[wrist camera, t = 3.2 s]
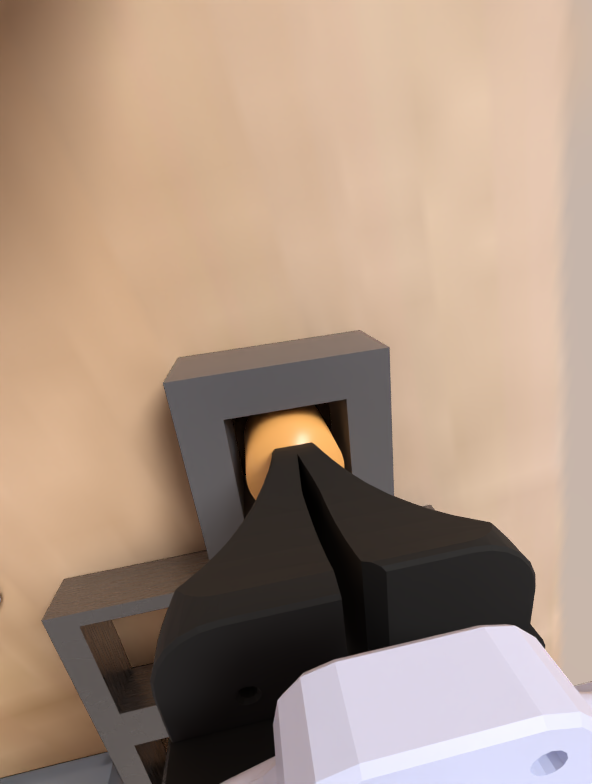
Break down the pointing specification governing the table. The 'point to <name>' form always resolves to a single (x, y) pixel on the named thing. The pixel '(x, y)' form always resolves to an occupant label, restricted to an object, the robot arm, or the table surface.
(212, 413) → the button housing
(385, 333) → the table surface
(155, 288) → the table surface
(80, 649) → the frame
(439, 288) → the table surface
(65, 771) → the tote
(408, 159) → the table surface
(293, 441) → the button
